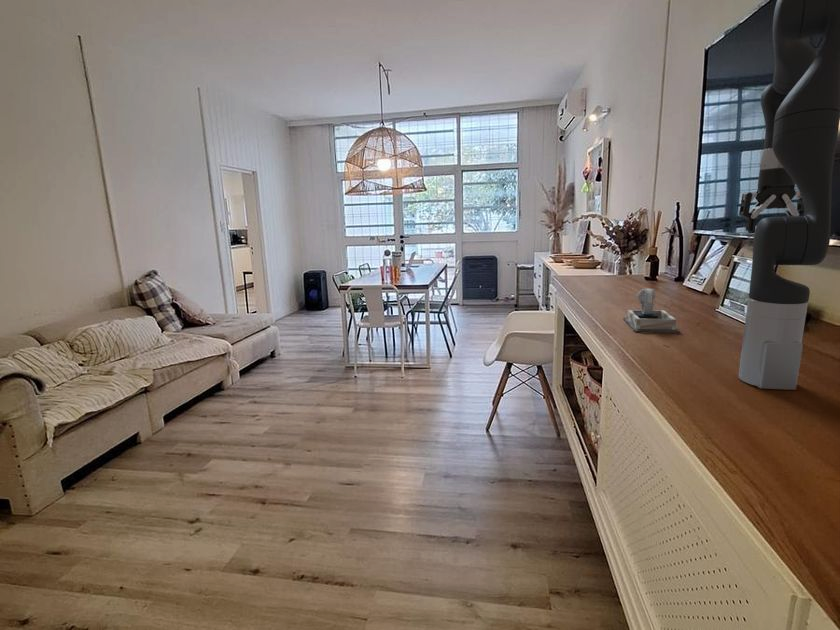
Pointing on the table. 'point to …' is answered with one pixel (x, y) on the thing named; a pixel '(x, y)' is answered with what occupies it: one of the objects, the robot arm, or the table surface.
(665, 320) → the holder
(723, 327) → the table surface
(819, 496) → the table surface
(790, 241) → the robot arm
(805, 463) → the table surface
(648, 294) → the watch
